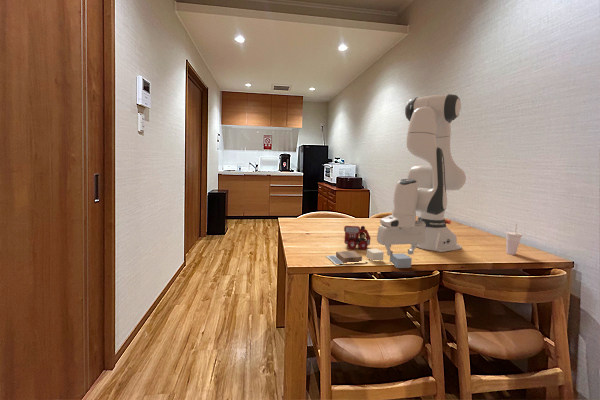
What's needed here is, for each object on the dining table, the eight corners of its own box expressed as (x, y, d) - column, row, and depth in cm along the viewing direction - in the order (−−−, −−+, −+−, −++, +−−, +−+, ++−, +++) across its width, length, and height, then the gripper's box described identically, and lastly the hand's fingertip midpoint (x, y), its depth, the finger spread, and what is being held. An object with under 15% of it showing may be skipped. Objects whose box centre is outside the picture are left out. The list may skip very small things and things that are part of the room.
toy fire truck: (371, 250, 147) (372, 228, 145) (344, 249, 147) (345, 227, 145) (368, 245, 154) (369, 224, 152) (342, 244, 154) (343, 223, 152)
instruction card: (355, 254, 140) (355, 253, 140) (367, 263, 129) (367, 262, 129) (325, 256, 136) (325, 255, 136) (335, 265, 126) (335, 264, 125)
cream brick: (376, 257, 137) (377, 248, 137) (383, 261, 133) (383, 252, 132) (366, 258, 136) (366, 249, 135) (372, 262, 131) (372, 252, 130)
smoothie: (514, 256, 144) (518, 226, 142) (499, 252, 150) (503, 223, 147) (522, 254, 147) (526, 225, 145) (508, 250, 153) (511, 222, 150)
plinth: (353, 255, 138) (353, 250, 138) (361, 261, 130) (362, 256, 130) (335, 256, 136) (336, 251, 135) (343, 262, 128) (343, 258, 128)
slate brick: (402, 262, 132) (403, 253, 132) (410, 267, 126) (411, 258, 126) (389, 263, 131) (390, 253, 130) (397, 268, 125) (397, 258, 124)
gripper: (420, 218, 131) (417, 251, 133) (376, 219, 126) (373, 253, 127) (431, 222, 125) (427, 256, 127) (384, 222, 120) (381, 258, 121)
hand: (400, 254), depth 127 cm, fingers open, 8 cm apart
